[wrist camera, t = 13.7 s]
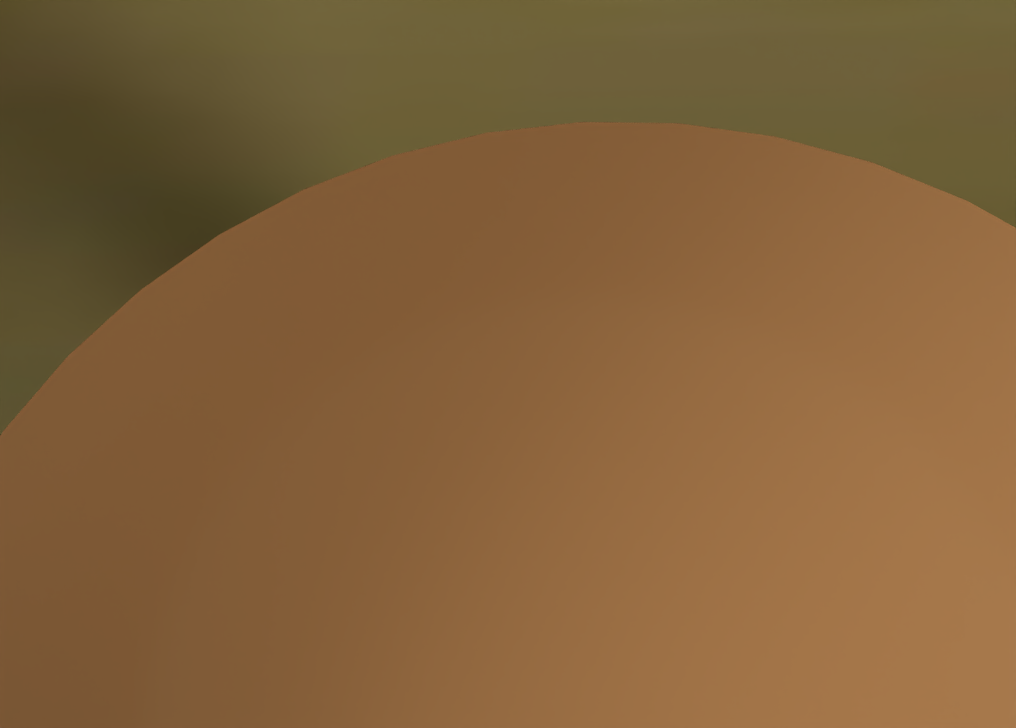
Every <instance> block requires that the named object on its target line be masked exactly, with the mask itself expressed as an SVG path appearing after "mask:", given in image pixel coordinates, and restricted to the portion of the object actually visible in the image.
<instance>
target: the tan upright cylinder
mask: <svg viewBox="0 0 1016 728" xmlns="http://www.w3.org/2000/svg"><path fill="white" fill-rule="evenodd" d="M0 728H1016V228H1015V227H1013V226H1011V225H1010V224H1008V223H1006V222H1004V221H1002V220H1001V219H999V218H997V217H995V216H993V215H991V214H990V213H988V212H986V211H984V210H982V209H981V208H979V207H977V206H975V205H973V204H972V203H970V202H968V201H966V200H964V199H961V198H959V197H956V196H954V195H951V194H949V193H946V192H944V191H941V190H939V189H936V188H934V187H931V186H929V185H926V184H924V183H922V182H919V181H917V180H914V179H912V178H909V177H907V176H904V175H902V174H899V173H897V172H894V171H892V170H889V169H887V168H884V167H882V166H879V165H877V164H874V163H872V162H868V161H865V160H861V159H857V158H853V157H850V156H846V155H842V154H838V153H835V152H831V151H827V150H823V149H819V148H816V147H812V146H808V145H804V144H801V143H797V142H793V141H789V140H786V139H782V138H778V137H774V136H767V135H759V134H752V133H745V132H737V131H730V130H723V129H716V128H708V127H701V126H694V125H687V124H679V123H611V122H578V123H569V124H560V125H551V126H542V127H534V128H525V129H516V130H507V131H499V132H490V133H483V134H479V135H475V136H471V137H467V138H463V139H459V140H455V141H451V142H446V143H442V144H438V145H434V146H430V147H426V148H422V149H418V150H414V151H409V152H405V153H401V154H397V155H393V156H390V157H388V158H385V159H382V160H380V161H377V162H375V163H372V164H369V165H367V166H364V167H361V168H359V169H356V170H354V171H351V172H348V173H346V174H343V175H341V176H338V177H335V178H333V179H330V180H327V181H325V182H322V183H320V184H317V185H314V186H312V187H309V188H306V189H304V190H302V191H300V192H298V193H296V194H294V195H293V196H291V197H289V198H287V199H285V200H283V201H281V202H279V203H278V204H276V205H274V206H272V207H270V208H268V209H266V210H264V211H262V212H261V213H259V214H257V215H255V216H253V217H251V218H249V219H247V220H246V221H244V222H242V223H240V224H238V225H236V226H234V227H232V228H231V229H229V230H227V231H225V232H223V233H221V234H219V235H218V236H216V237H215V238H214V239H212V240H211V241H209V242H208V243H207V244H205V245H204V246H202V247H201V248H199V249H198V250H197V251H195V252H194V253H192V254H191V255H190V256H188V257H187V258H185V259H184V260H182V261H181V262H180V263H178V264H177V265H175V266H174V267H173V268H171V269H170V270H168V271H167V272H165V273H164V274H163V275H161V276H160V277H158V278H157V279H156V280H154V281H153V282H151V283H150V284H148V285H147V286H146V287H144V288H143V289H141V290H140V291H139V292H138V293H137V294H136V295H135V296H133V297H132V298H131V299H130V300H129V301H128V302H127V303H126V304H125V305H124V306H122V307H121V308H120V309H119V310H118V311H117V312H116V313H115V314H114V315H113V316H111V317H110V318H109V319H108V320H107V321H106V322H105V323H104V324H103V325H102V326H100V327H99V328H98V329H97V330H96V331H95V332H94V333H93V334H92V335H91V336H89V337H88V338H87V339H86V340H85V341H84V342H83V343H82V344H81V345H80V346H78V347H77V348H76V349H75V350H74V351H73V352H72V353H71V354H70V355H69V356H68V357H67V358H66V359H65V360H64V361H63V362H62V364H61V365H60V366H59V367H58V368H57V369H56V371H55V372H54V373H53V374H52V375H51V376H50V378H49V379H48V380H47V381H46V382H45V383H44V385H43V386H42V387H41V388H40V389H39V390H38V392H37V393H36V394H35V395H34V396H33V397H32V398H31V400H30V401H29V402H28V403H27V404H26V405H25V407H24V408H23V409H22V410H21V411H20V412H19V414H18V415H17V416H16V417H15V418H14V419H13V421H12V422H11V423H10V424H9V425H8V426H7V428H6V429H5V430H4V431H3V433H2V434H1V436H0Z"/></svg>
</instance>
